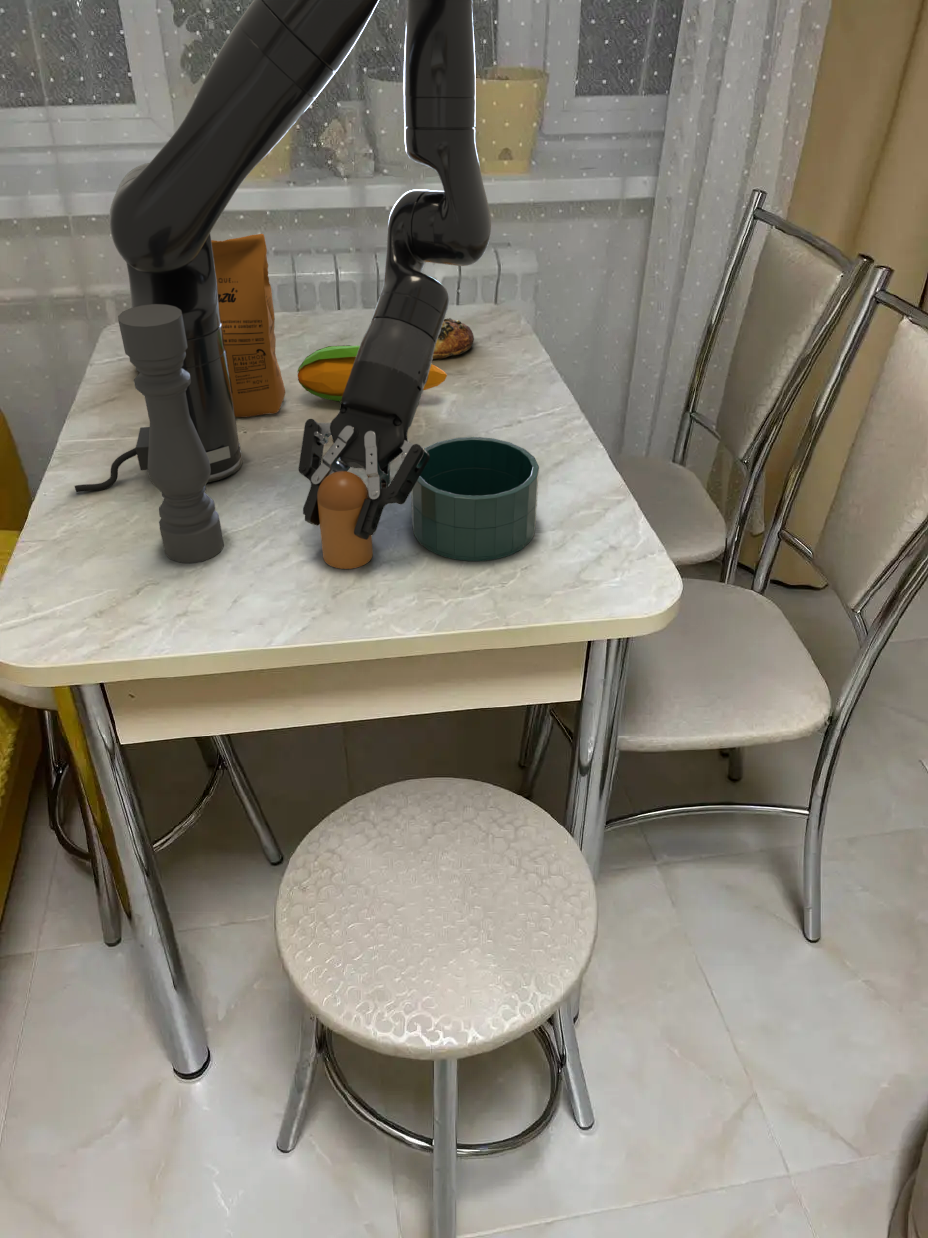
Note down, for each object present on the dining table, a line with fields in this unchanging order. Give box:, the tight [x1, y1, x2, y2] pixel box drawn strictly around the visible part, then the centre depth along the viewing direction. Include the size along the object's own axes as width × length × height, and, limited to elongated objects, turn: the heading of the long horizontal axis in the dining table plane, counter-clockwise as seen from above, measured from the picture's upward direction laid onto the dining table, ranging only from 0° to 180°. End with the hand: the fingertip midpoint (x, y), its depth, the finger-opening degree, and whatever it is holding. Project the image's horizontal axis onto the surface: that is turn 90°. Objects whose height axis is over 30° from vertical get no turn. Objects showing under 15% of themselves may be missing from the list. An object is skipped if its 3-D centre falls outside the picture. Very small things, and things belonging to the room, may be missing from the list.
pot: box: [410, 436, 540, 562], centre depth 105 cm, size 13×13×8 cm
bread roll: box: [432, 317, 475, 360], centre depth 147 cm, size 11×11×5 cm
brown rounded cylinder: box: [317, 471, 374, 570], centre depth 100 cm, size 5×5×10 cm
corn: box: [296, 344, 448, 403], centre depth 131 cm, size 7×8×20 cm
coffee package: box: [211, 233, 286, 418], centre depth 125 cm, size 10×12×22 cm
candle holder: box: [117, 304, 225, 564], centre depth 96 cm, size 6×6×25 cm
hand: (336, 529), depth 99 cm, fingers closed on brown rounded cylinder, 5 cm apart
